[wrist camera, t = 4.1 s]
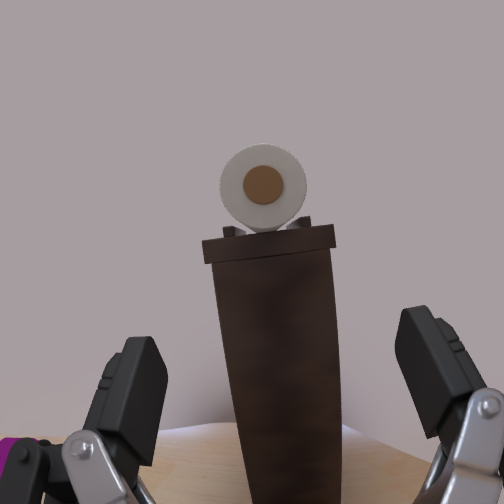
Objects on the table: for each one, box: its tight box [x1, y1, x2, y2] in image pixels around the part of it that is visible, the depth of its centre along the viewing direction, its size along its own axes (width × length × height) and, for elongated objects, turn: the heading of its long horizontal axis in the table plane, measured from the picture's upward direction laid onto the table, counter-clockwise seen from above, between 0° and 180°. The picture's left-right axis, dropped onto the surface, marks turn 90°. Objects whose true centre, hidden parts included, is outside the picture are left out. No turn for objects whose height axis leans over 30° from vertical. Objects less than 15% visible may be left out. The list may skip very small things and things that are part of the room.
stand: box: [202, 216, 342, 504], centre depth 33 cm, size 10×16×33 cm, turn 178°
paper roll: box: [220, 144, 307, 233], centre depth 26 cm, size 4×20×4 cm, turn 178°
